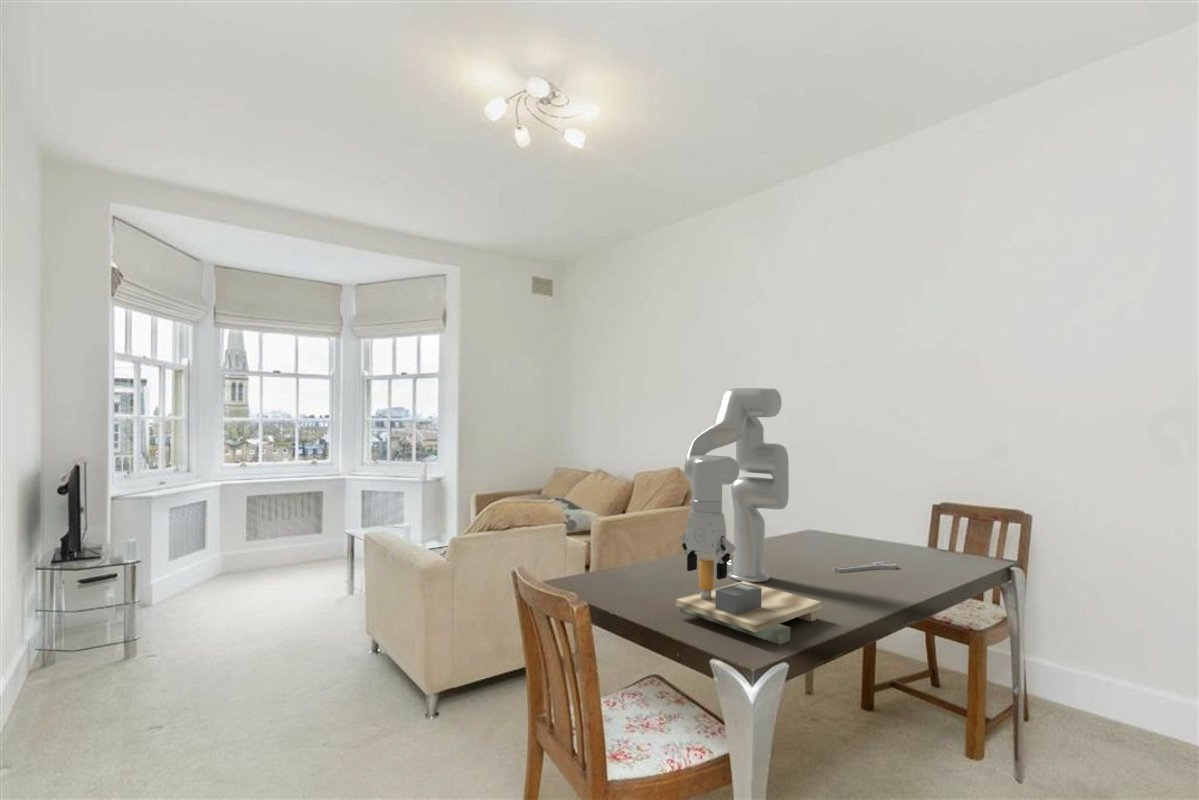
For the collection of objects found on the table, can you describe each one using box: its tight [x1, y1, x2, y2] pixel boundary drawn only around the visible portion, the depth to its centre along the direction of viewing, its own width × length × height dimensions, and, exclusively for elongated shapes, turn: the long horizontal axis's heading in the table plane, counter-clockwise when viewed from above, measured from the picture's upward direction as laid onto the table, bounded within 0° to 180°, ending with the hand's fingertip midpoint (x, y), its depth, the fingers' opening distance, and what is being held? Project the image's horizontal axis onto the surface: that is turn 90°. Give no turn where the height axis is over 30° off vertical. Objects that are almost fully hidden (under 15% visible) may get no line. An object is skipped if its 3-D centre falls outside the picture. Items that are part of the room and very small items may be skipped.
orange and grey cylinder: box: [698, 558, 715, 600], centre depth 154 cm, size 4×4×10 cm
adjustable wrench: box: [832, 560, 898, 573], centre depth 206 cm, size 25×6×2 cm, turn 105°
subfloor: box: [675, 581, 823, 646], centre depth 152 cm, size 30×28×4 cm
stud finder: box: [716, 582, 762, 615], centre depth 146 cm, size 6×10×5 cm, turn 130°
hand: (706, 574), depth 154 cm, fingers open, 9 cm apart
